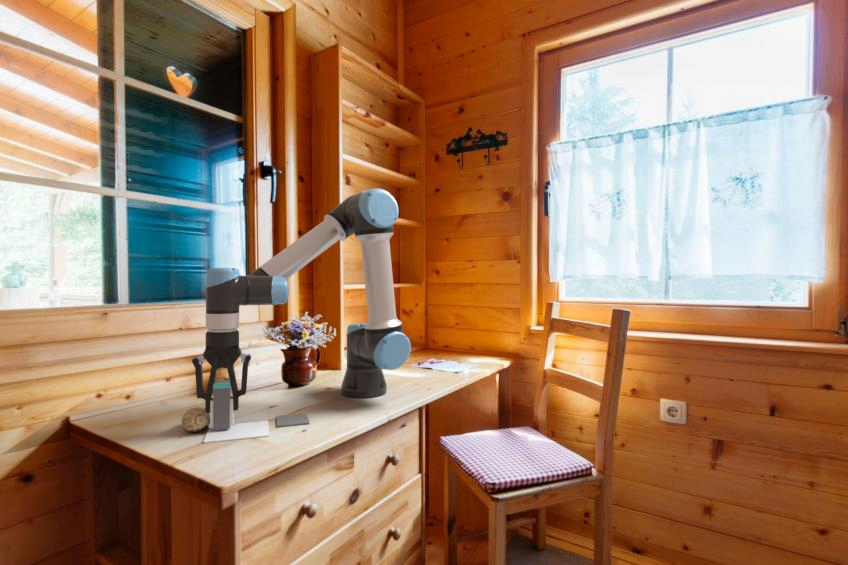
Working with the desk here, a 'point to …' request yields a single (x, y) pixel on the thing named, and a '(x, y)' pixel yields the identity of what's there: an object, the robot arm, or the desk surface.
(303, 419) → the coaster
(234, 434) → the paper
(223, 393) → the marker
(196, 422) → the seashell
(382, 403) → the desk surface
